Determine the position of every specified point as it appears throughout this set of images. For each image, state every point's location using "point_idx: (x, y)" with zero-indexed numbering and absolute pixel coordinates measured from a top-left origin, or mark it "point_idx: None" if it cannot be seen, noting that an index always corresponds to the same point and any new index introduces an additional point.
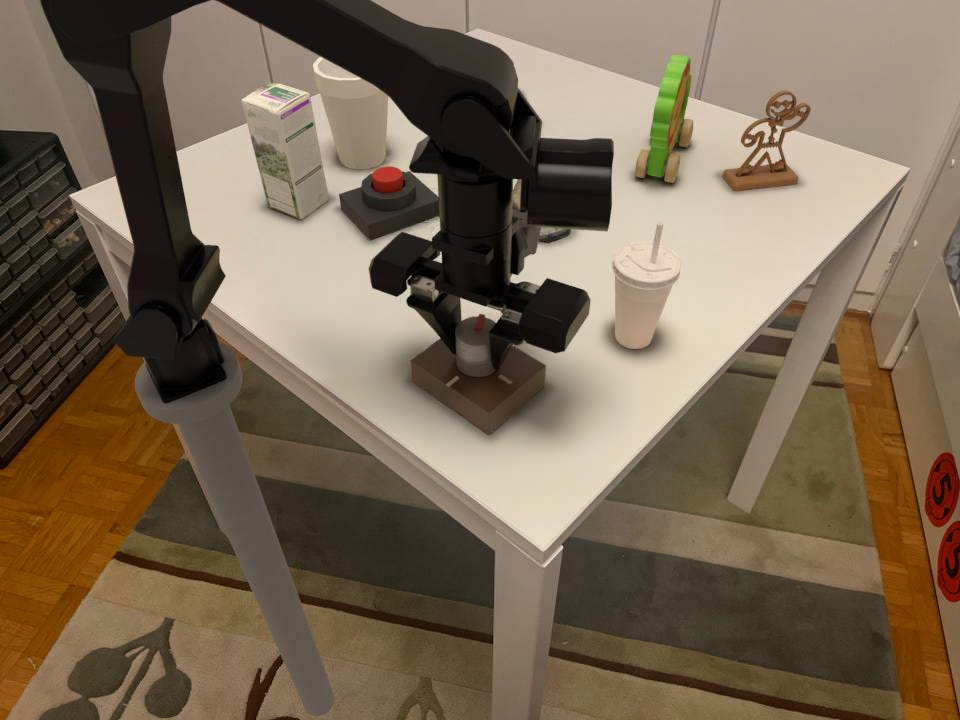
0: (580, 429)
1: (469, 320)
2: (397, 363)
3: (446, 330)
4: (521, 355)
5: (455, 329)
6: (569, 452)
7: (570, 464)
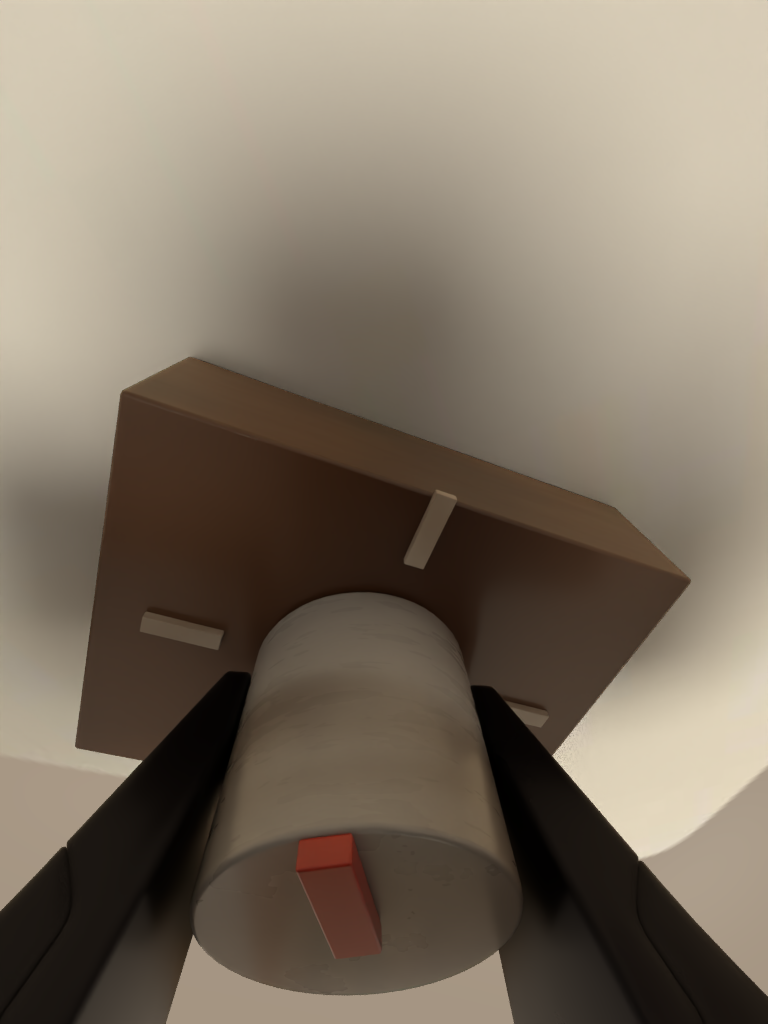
0: (748, 625)
1: (247, 886)
2: (16, 593)
3: (163, 1017)
4: (557, 565)
5: (189, 870)
6: (710, 699)
7: (711, 726)
